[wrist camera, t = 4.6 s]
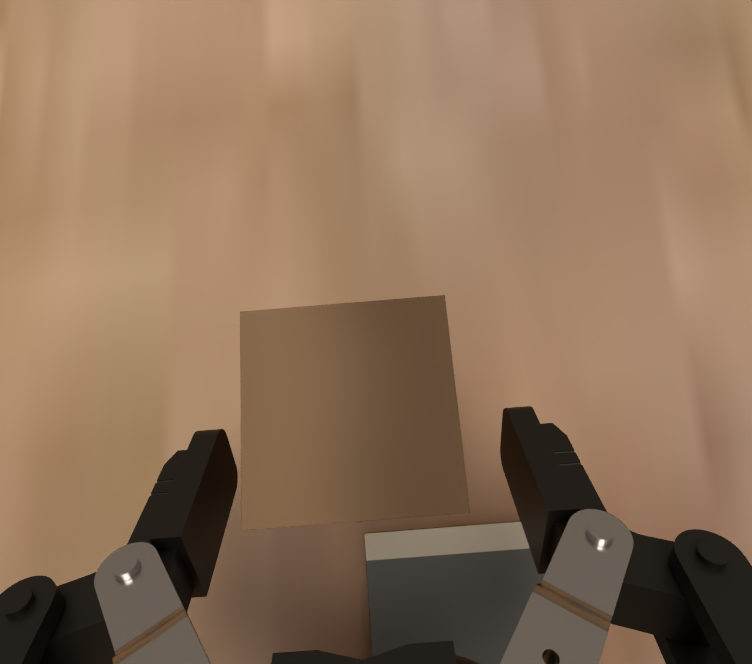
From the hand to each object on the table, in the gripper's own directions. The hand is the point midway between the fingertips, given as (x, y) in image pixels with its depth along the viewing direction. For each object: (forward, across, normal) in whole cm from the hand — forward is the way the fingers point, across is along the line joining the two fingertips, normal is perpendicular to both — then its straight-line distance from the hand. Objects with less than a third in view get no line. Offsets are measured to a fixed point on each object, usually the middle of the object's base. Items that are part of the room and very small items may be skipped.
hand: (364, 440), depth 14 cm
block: (+5, 0, +4) cm, 7 cm away
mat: (0, -3, +10) cm, 11 cm away
